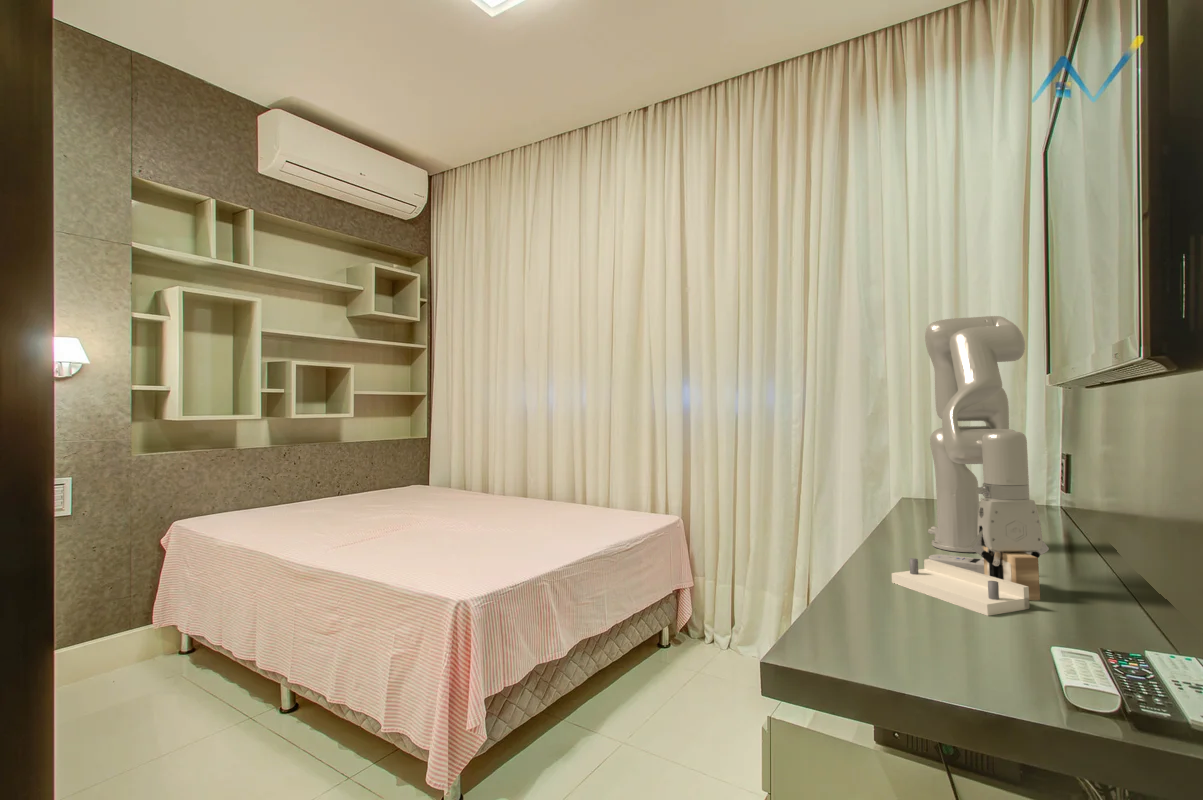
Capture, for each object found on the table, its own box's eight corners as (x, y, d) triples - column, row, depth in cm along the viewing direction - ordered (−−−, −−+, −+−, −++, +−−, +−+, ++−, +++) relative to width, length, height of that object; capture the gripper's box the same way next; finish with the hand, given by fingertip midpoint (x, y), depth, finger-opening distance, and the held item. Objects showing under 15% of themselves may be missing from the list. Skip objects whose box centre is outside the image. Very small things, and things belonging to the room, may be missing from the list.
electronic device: (930, 523, 140) (1004, 528, 129) (933, 564, 140) (1008, 573, 129) (922, 526, 136) (998, 532, 125) (926, 569, 136) (1002, 579, 125)
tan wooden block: (984, 581, 123) (982, 543, 123) (1005, 582, 122) (1003, 543, 123) (1016, 600, 111) (1014, 557, 111) (1040, 600, 111) (1038, 557, 111)
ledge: (892, 582, 124) (891, 559, 124) (929, 577, 127) (928, 554, 127) (987, 615, 103) (986, 587, 103) (1029, 608, 106) (1028, 581, 106)
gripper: (970, 495, 115) (974, 589, 114) (1064, 495, 112) (1068, 590, 112) (952, 490, 122) (956, 578, 122) (1040, 489, 120) (1044, 579, 119)
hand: (1010, 583), depth 117 cm, fingers closed on tan wooden block, 4 cm apart
